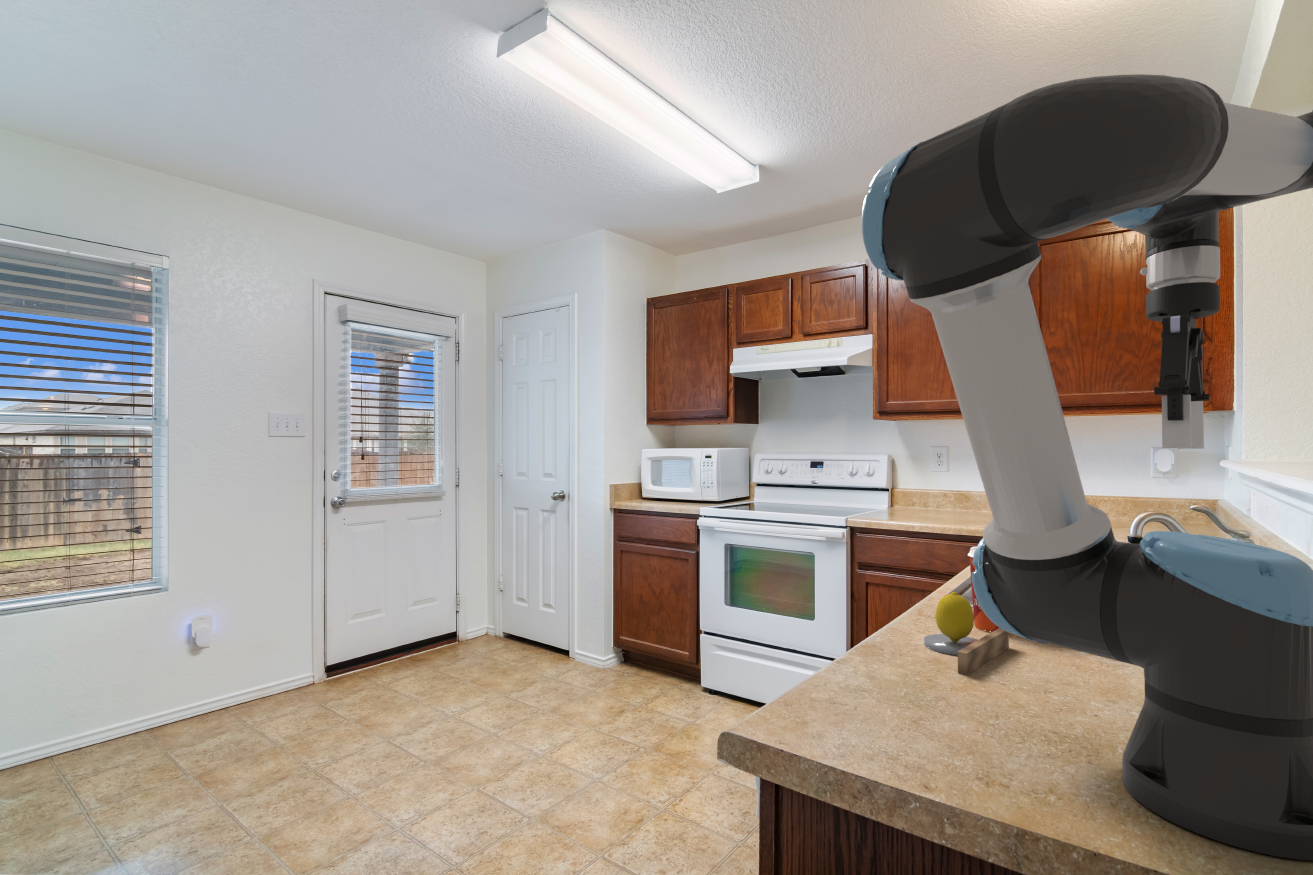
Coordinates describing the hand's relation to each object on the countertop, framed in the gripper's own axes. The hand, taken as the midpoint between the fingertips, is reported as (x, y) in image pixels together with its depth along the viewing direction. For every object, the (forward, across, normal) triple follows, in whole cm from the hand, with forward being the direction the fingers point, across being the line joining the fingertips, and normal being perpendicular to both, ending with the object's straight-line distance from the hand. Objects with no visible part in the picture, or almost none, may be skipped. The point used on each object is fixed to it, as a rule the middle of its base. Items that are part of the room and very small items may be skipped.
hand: (1184, 448), depth 83 cm
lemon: (+31, +2, -28) cm, 42 cm away
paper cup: (+32, -14, -28) cm, 45 cm away
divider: (+32, +5, -23) cm, 39 cm away
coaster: (+32, +2, -28) cm, 43 cm away
